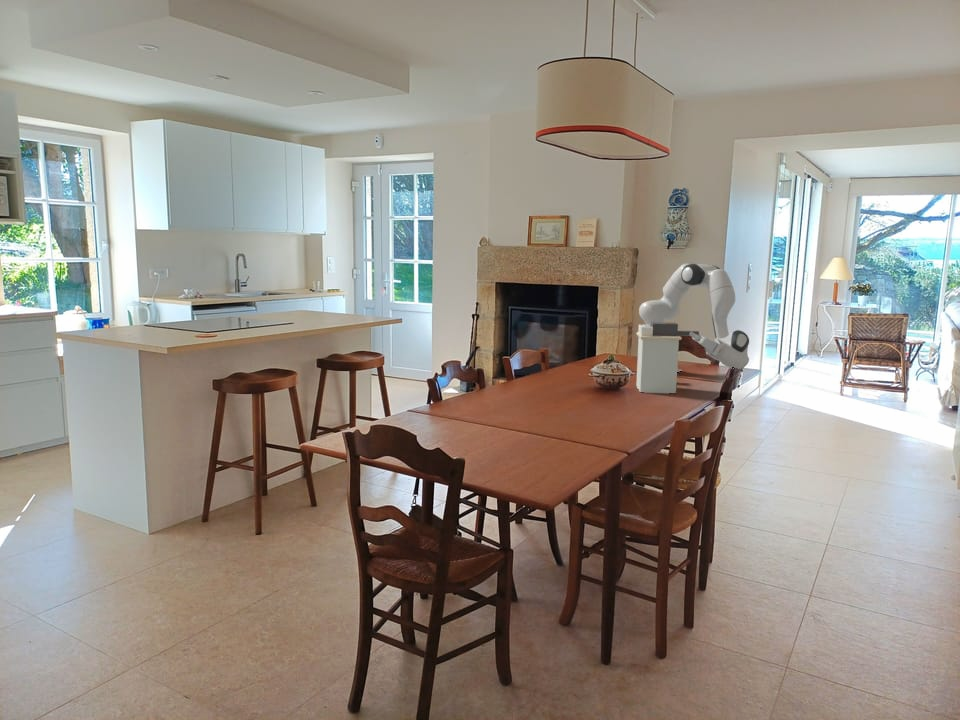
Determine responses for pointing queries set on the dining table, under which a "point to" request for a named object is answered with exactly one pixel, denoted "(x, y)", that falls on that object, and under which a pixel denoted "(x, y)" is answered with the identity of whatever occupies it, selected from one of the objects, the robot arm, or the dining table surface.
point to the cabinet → (657, 363)
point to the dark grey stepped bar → (668, 329)
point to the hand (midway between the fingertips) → (688, 332)
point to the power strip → (645, 330)
